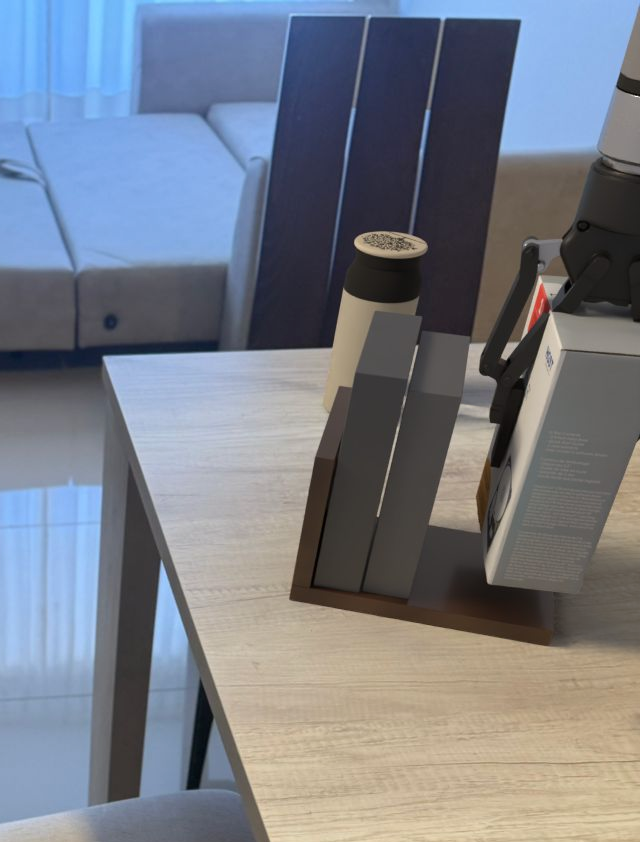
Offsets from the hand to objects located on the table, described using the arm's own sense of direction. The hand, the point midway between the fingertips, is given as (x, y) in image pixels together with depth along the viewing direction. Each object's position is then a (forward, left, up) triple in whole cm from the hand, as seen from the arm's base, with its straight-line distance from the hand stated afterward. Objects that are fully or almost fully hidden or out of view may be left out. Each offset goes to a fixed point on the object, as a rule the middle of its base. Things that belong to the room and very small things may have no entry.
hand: (548, 467), depth 95 cm
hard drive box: (0, 0, -7) cm, 7 cm away
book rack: (+7, 0, -12) cm, 14 cm away
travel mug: (+17, -35, -12) cm, 41 cm away
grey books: (+13, 0, -11) cm, 16 cm away
